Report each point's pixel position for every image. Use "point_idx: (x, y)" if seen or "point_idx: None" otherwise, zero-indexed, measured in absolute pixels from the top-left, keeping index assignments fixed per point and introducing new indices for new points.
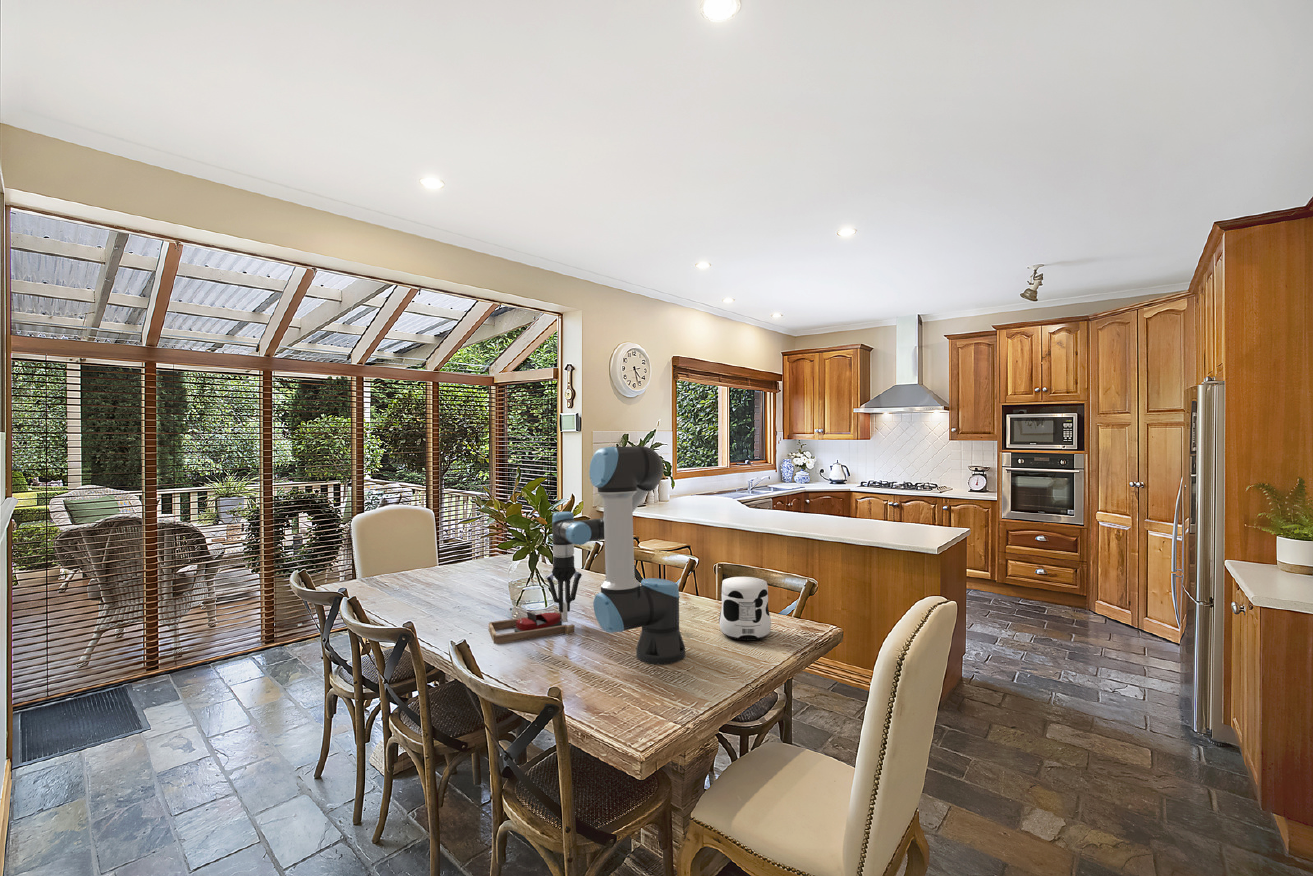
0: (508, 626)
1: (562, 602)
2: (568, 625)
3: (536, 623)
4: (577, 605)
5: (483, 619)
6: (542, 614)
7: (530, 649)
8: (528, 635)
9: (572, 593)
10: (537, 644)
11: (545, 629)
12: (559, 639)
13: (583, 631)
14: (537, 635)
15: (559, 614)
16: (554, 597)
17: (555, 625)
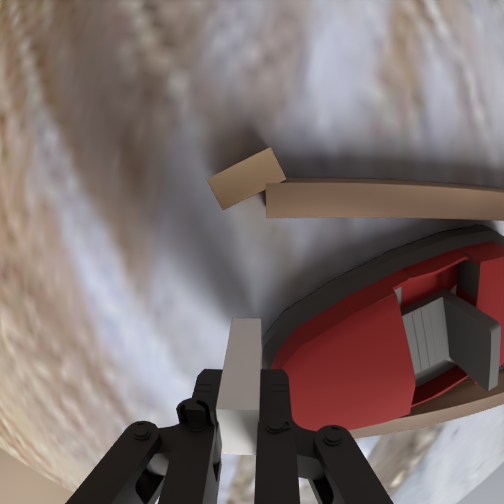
0: None
1: (265, 424)
2: (254, 190)
3: (452, 299)
4: None
5: (483, 456)
6: (402, 384)
7: (493, 43)
8: (500, 190)
9: (140, 494)
10: (465, 83)
11: (429, 186)
12: (342, 88)
13: (156, 173)
14: (457, 185)
15: None
16: (363, 469)
17: (322, 297)
